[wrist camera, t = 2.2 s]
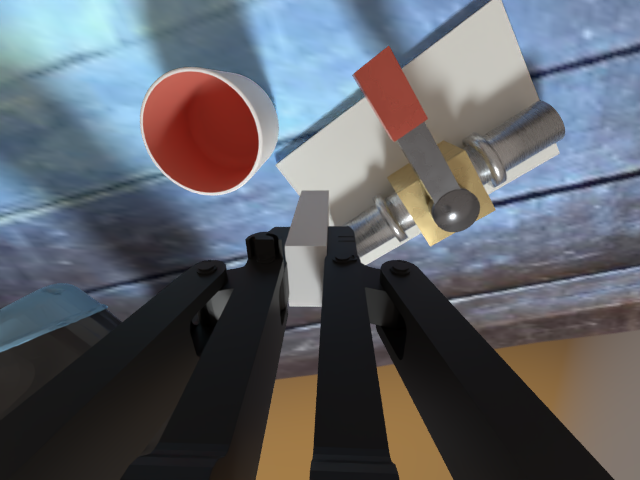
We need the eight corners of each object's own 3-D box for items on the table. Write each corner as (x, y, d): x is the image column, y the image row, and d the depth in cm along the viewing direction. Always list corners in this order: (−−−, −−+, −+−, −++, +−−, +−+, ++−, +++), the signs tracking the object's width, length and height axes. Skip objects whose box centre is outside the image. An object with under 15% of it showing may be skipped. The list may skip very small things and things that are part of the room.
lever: (478, 209, 29) (487, 217, 27) (439, 231, 30) (446, 240, 28) (390, 44, 23) (395, 40, 22) (346, 79, 24) (348, 78, 23)
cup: (278, 72, 31) (256, 66, 22) (283, 169, 36) (266, 196, 27) (182, 72, 32) (123, 66, 23) (199, 168, 36) (155, 195, 27)
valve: (356, 255, 40) (361, 287, 34) (326, 214, 38) (325, 241, 31) (541, 146, 33) (592, 160, 27) (517, 88, 31) (568, 88, 24)
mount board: (356, 266, 41) (357, 269, 40) (277, 163, 35) (275, 165, 35) (553, 151, 34) (559, 153, 33) (493, -3, 28) (499, -6, 27)
